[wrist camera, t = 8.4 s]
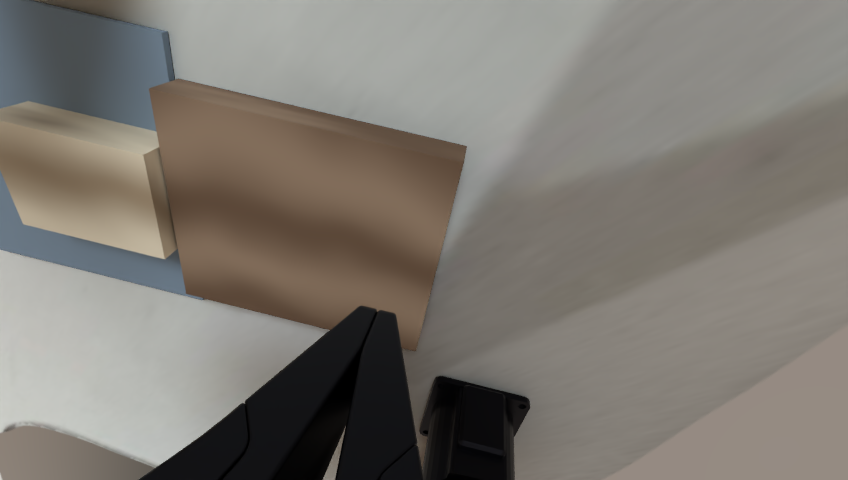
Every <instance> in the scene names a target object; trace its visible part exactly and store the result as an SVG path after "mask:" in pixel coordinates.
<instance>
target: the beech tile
mask: <svg viewBox="0 0 848 480" xmlns="http://www.w3.org/2000/svg"><path fill="white" fill-rule="evenodd" d="M0 171H1V173H2V175H3V178H4V180H5V183H6V185H7V187H8V190H9V192H10V194H11V197H12V199H13V202H14V204H15V206H16V209H17V211H18V213H19V216H20V218H21V220H22V223H23V224H24V225H28V226H32V227H36V228H40V229H44V230H48V231H52V232H56V233H60V234H65V235H69V236H73V237H77V238H81V239H85V240H89V241H93V242H97V243H101V244H105V245H109V246H113V247H117V248H121V249H125V250H129V251H133V252H137V253H141V254H145V255H149V256H153V257H157V258H161V259H166V258H167V257H168V256H169V255H171V254H172V253H173V252H174V251H175V250H177V249H178V246H177V241H176V235H175V230H174V224H173V219H172V213H171V208H170V202H169V197H168V192H167V186H166V181H165V175H164V170H163V164H162V159H161V153H160V148H159V142H158V137H157V132H156V131H152V130H148V129H144V128H139V127H135V126H131V125H127V124H123V123H118V122H114V121H110V120H106V119H102V118H98V117H93V116H89V115H85V114H81V113H77V112H72V111H68V110H64V109H60V108H56V107H51V106H47V105H43V104H39V103H35V102H30V101H27V102H23V103H19V104H16V105H12V106H8V107H4V108H1V109H0Z"/></svg>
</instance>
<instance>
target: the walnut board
mask: <svg viewBox="0 0 848 480" xmlns="http://www.w3.org/2000/svg"><path fill="white" fill-rule="evenodd" d="M149 93H150V99H151V104H152V109H153V115H154V120H155V126H156V131H157V137H158V142H159V148H160V153H161V159H162V164H163V170H164V175H165V181H166V186H167V192H168V197H169V202H170V208H171V213H172V219H173V224H174V230H175V235H176V241H177V246H178V252H179V257H180V263H181V268H182V274H183V279H184V285H185V290H186V294H189V295H193V296H197V297H201V298H205V299H209V300H213V301H217V302H221V303H225V304H229V305H233V306H237V307H241V308H245V309H249V310H253V311H257V312H261V313H265V314H269V315H273V316H277V317H281V318H285V319H289V320H293V321H297V322H301V323H305V324H309V325H313V326H317V327H320V328H324V329H328V330H331V329H332V328H333V327H334V326H336V325H337V324H338V323H339V322H341V321H342V320H343V319H344V318H345V317H347V316H348V315H349V314H350V313H351V312H353V311H354V310H355V309H356V308H357V307H359V306H367V307H371V308H375V309H376V310H377V312H378V311H379V310H384V311H388V312H393V313H395V314H396V317H397V323H398V329H399V335H400V341H401V347H402V348H404V349H408V350H412V351H416V348H417V344H418V340H419V336H420V332H421V328H422V325H423V321H424V317H425V313H426V309H427V305H428V301H429V297H430V293H431V289H432V285H433V281H434V277H435V273H436V269H437V265H438V261H439V258H440V254H441V250H442V246H443V242H444V238H445V234H446V230H447V226H448V222H449V218H450V214H451V210H452V206H453V202H454V198H455V194H456V191H457V187H458V183H459V179H460V175H461V171H462V167H463V163H464V158H465V153H466V148H467V146H463V145H459V144H455V143H451V142H446V141H442V140H438V139H434V138H429V137H425V136H421V135H417V134H412V133H408V132H404V131H399V130H395V129H391V128H387V127H382V126H378V125H374V124H370V123H365V122H361V121H357V120H353V119H348V118H344V117H340V116H335V115H331V114H327V113H323V112H318V111H314V110H310V109H306V108H301V107H297V106H293V105H289V104H284V103H280V102H276V101H271V100H267V99H263V98H259V97H254V96H250V95H246V94H242V93H237V92H233V91H229V90H225V89H220V88H216V87H212V86H207V85H203V84H199V83H195V82H190V81H186V80H182V79H176V80H173V81H170V82H167V83H164V84H161V85H158V86H154V87H151V88H149Z"/></svg>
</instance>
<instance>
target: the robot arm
mask: <svg viewBox="0 0 848 480" xmlns="http://www.w3.org/2000/svg"><path fill="white" fill-rule="evenodd" d="M529 409H530V401H529V399H528V398H526V397H523V396H519V395H515V394H511V393H507V392H503V391H499V390H495V389H491V388H487V387H483V386H479V385H475V384H471V383H467V382H463V381H459V380H455V379H451V378H447V377H443V376H439V377H436V378H435V381H434V384H433V387H432V390H431V393H430V397H429V400H428V403H427V406H426V410H425V413H424V416H423V419H422V423H421V426H420V433H421V434H422V435H423V436H427V437H428V438H427V444H426V451H425V457H424V463H423V470H422V467H421V461H420V455H419V449H418V446H417V438H416V432H415V426H414V420H413V414H412V408H411V402H410V396H409V390H408V384H407V377H406V371H405V365H404V359H403V353H402V347H401V341H400V335H399V329H398V323H397V317H396V314H395V313H393V312H388V311H384V310H379V311H378V312H377V310H376V309H375V308H371V307H367V306H359V307H357V308H356V309H355V310H354V311H353V312H351V313H350V314H349V315H348V316H347V317H345V318H344V319H343V320H342V321H341V322H339V323H338V324H337V325H336V326H334V327H333V328H332V329H331V330H330V331H328V332H327V333H326V334H325V335H324V336H322V337H321V338H320V339H319V340H318V341H316V342H315V343H314V344H313V345H312V346H310V347H309V348H308V349H307V350H306V351H304V352H303V353H302V354H301V355H300V356H298V357H297V358H296V359H295V360H294V361H292V362H291V363H290V364H289V365H288V366H286V367H285V368H284V369H283V370H281V371H280V372H279V373H278V374H277V375H275V376H274V377H273V378H272V379H271V380H269V381H268V382H267V383H266V384H265V385H263V386H262V387H261V388H260V389H259V390H257V391H256V392H255V393H254V394H253V395H251V396H250V397H249V398H248V399H247V400H246V401H245V404H244V403H242V404H240V405H239V406H238V407H237V408H235V409H234V410H233V411H232V412H231V413H229V414H228V415H227V416H226V417H225V418H223V419H222V420H221V421H220V422H218V423H217V424H216V425H214V426H213V427H212V428H211V429H209V430H208V431H207V432H206V433H204V434H203V435H202V436H200V437H199V438H198V439H196V440H195V441H193V442H192V443H191V444H189V445H188V446H186V447H185V448H183V449H182V450H181V451H179V452H178V453H176V454H175V455H174V456H172V457H171V458H169V459H168V460H166V461H165V462H163V463H162V464H161V465H159V466H158V467H156V468H155V469H153V470H152V471H150V472H149V473H147V474H146V475H144V476H143V477H142V478H140V479H139V480H323V477H324V475H325V473H326V470H327V468H328V466H329V463H330V461H331V459H332V456H333V454H334V452H335V449H336V447H337V445H338V442H339V440H340V438H341V435H342V433H343V431H344V428H345V426H346V428H345V433H344V438H343V443H342V448H341V453H340V458H339V463H338V468H337V473H336V478H335V480H515V472H514V436H515V435H516V433H517V431H518V429H519V427H520V425H521V423H522V422H523V420H524V418H525V416H526V414H527V412H528V411H529Z"/></svg>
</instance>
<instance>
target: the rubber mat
mask: <svg viewBox="0 0 848 480" xmlns="http://www.w3.org/2000/svg"><path fill="white" fill-rule="evenodd" d="M173 80H175V79H174V72H173V65H172V58H171V51H170V45H169V38H168V32H167V31H162V30H158V29H154V28H149V27H145V26H141V25H136V24H132V23H128V22H124V21H119V20H115V19H111V18H106V17H102V16H98V15H93V14H89V13H85V12H80V11H76V10H72V9H67V8H63V7H59V6H54V5H50V4H46V3H41V2H37V1H33V0H0V109H1V108H4V107H8V106H12V105H16V104H19V103H23V102H27V101H30V102H35V103H39V104H43V105H47V106H51V107H56V108H60V109H64V110H68V111H72V112H77V113H81V114H85V115H89V116H93V117H98V118H102V119H106V120H110V121H114V122H118V123H123V124H127V125H131V126H135V127H139V128H144V129H148V130H152V131H156V126H155V120H154V115H153V109H152V104H151V99H150V93H149V88H151V87H154V86H158V85H161V84H164V83H167V82H170V81H173ZM156 132H157V131H156ZM0 250H4V251H8V252H12V253H16V254H20V255H24V256H28V257H32V258H36V259H40V260H44V261H48V262H52V263H56V264H60V265H64V266H68V267H72V268H76V269H80V270H84V271H88V272H92V273H96V274H100V275H104V276H108V277H112V278H116V279H120V280H124V281H128V282H132V283H136V284H140V285H144V286H148V287H152V288H156V289H160V290H164V291H168V292H172V293H176V294H180V295H184V296H188V297H192V298H196V299H200V300H204V298H201V297H197V296H193V295H189V294H186V290H185V285H184V279H183V274H182V268H181V263H180V257H179V252H178V249H177V250H175V251H174V252H173V253H172V254H171V255H169V256H168V257H167V258H166V259H161V258H157V257H153V256H149V255H145V254H141V253H137V252H133V251H129V250H125V249H121V248H117V247H113V246H109V245H105V244H101V243H97V242H93V241H89V240H85V239H81V238H77V237H73V236H69V235H65V234H60V233H56V232H52V231H48V230H44V229H40V228H36V227H32V226H28V225H24V224H23V223H22V220H21V218H20V216H19V213H18V211H17V209H16V206H15V204H14V202H13V199H12V197H11V194H10V192H9V190H8V187H7V185H6V183H5V180H4V178H3V175H2V173H1V171H0Z"/></svg>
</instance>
